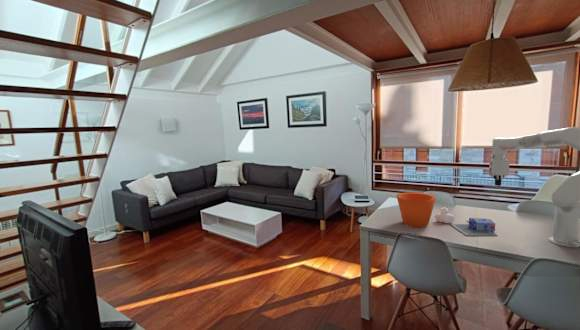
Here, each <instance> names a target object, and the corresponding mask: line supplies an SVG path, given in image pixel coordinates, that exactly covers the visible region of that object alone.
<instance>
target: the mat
mask: <svg viewBox="0 0 580 330" xmlns="http://www.w3.org/2000/svg"><path fill="white" fill-rule="evenodd" d="M450 225H451V226H450ZM449 226H450V227H452V226H453V227H454V228H453V227H452V228H453V229H455V230H456V229H457V230H456V231H458V232H459V231H460V232H459V233H461V234H463V235H464V236H465V237H498V234H497V233H494V231H483V230H473V229H472V228H471V227H470V226H469V223H461V224H458V223H457V224H456V223H454V224H453V223H449Z"/></svg>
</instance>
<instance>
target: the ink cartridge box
mask: <svg viewBox="0 0 580 330" xmlns="http://www.w3.org/2000/svg"><path fill="white" fill-rule="evenodd" d="M466 222H467V224H469V226H470V227H471V228H472V229H473V230H483V231H491V232H495V231H496V223H495V222H494V221H493V220H492V219H491V218H481V217H469V218H468V220H466Z"/></svg>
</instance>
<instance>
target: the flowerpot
mask: <svg viewBox="0 0 580 330" xmlns="http://www.w3.org/2000/svg"><path fill="white" fill-rule="evenodd" d="M396 199H397V203H398V206H399V211H400V212H399V213H400V215H401V219H402V224H403V223H404V224H406V225H408V226H407V227H409V226H412V227H411V228H415V227H423V228H426V227H425V226H427V225H428V226H429V223H430V220H431V216H432V212H433V210H434V206H435V203H436V200H437V196H436V195H433V194H430V193H426V192H425V193H424V192H417V191H415V192H414V191H413V192H412V191H411V192H409V191H408V192H407V191H406V192H401V193H397V194H396ZM404 224H403V225H404ZM406 225H405V226H406ZM428 226H427V227H428Z"/></svg>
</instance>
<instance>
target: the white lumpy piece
mask: <svg viewBox="0 0 580 330" xmlns="http://www.w3.org/2000/svg"><path fill="white" fill-rule="evenodd" d="M439 209H440V211H441V213H439V212H438V213H436V214H435V215H434V219H435V221H436V222H438V221H439V223H441V222H444V223H443V224H453V222H454V221H455V216H454V215H453V214H451V213H448V212H449V210H450V208H447V207H444V206H443V207H440V208H439Z"/></svg>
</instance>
